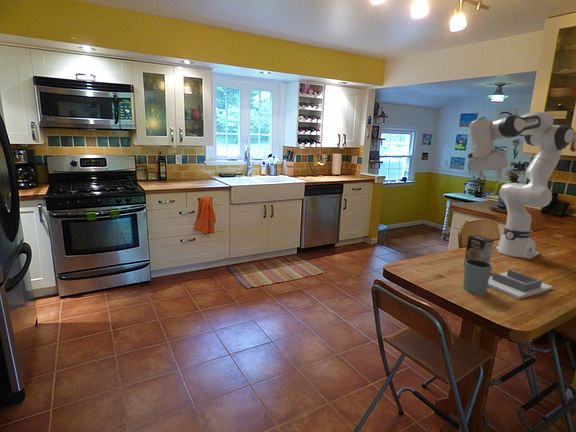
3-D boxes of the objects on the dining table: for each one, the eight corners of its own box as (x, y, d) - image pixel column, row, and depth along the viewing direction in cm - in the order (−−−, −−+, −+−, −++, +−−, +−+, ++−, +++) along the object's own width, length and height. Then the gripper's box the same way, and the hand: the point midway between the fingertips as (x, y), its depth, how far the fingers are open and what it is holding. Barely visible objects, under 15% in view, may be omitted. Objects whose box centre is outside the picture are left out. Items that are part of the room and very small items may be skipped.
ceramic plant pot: (476, 296, 138) (481, 268, 135) (455, 286, 147) (459, 259, 144) (493, 292, 142) (498, 265, 139) (471, 283, 151) (476, 257, 148)
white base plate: (509, 273, 163) (511, 265, 162) (551, 289, 148) (553, 280, 147) (476, 281, 153) (478, 272, 152) (518, 299, 137) (520, 289, 136)
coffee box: (462, 266, 170) (467, 235, 166) (471, 265, 172) (477, 234, 169) (479, 273, 162) (484, 241, 158) (488, 272, 164) (494, 239, 161)
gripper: (508, 146, 156) (514, 175, 158) (474, 153, 176) (480, 178, 178) (496, 149, 155) (503, 179, 156) (464, 156, 175) (470, 182, 176)
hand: (491, 179), depth 167 cm, fingers open, 8 cm apart
